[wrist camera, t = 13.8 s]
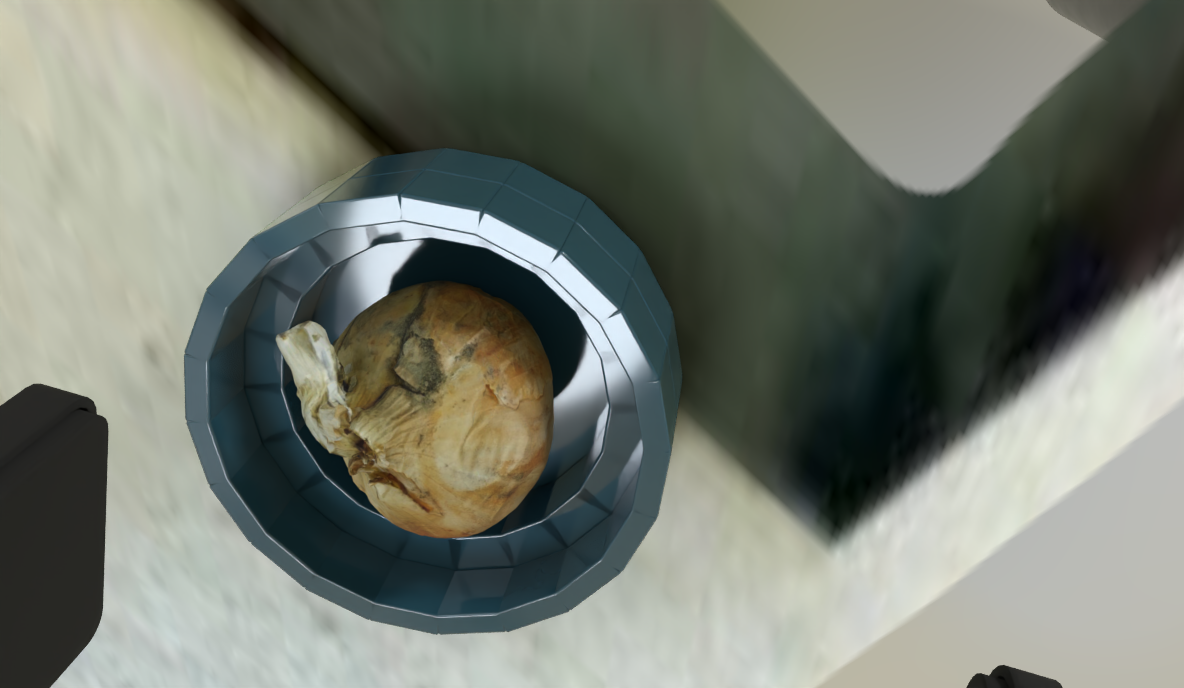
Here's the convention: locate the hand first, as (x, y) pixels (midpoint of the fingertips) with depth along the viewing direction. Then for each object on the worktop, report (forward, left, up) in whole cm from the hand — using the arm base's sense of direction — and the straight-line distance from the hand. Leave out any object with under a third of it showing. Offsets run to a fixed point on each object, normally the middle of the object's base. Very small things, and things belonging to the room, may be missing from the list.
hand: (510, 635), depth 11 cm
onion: (-1, +11, -23) cm, 25 cm away
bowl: (-1, +11, -23) cm, 26 cm away
